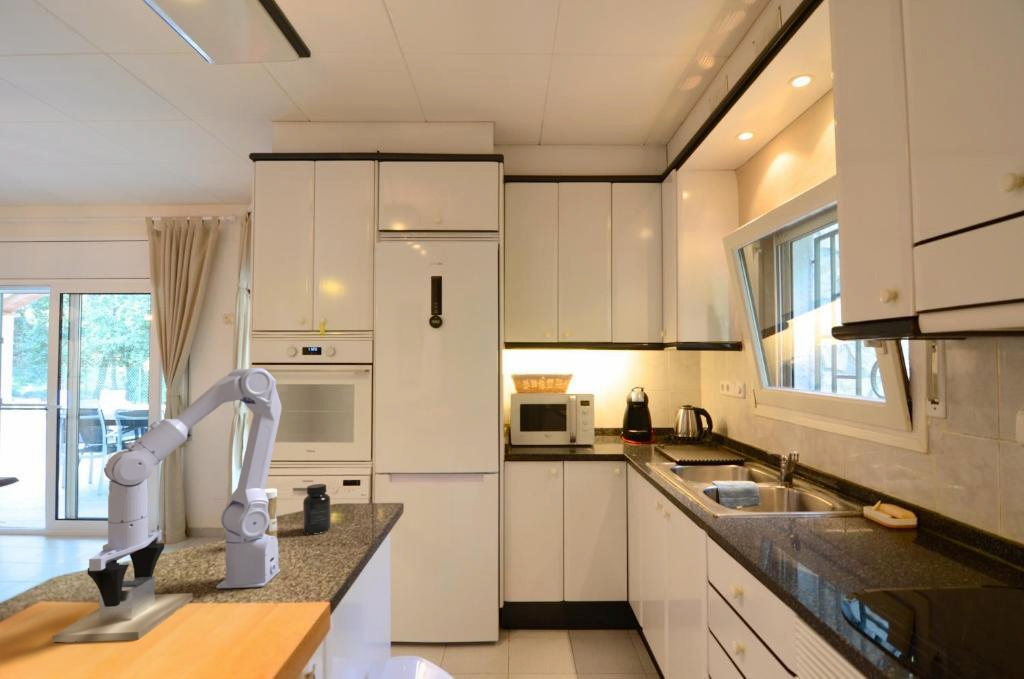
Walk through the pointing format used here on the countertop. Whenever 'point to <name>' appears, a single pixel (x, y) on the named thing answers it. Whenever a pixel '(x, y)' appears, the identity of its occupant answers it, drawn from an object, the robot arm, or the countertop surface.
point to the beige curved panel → (123, 622)
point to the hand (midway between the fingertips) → (128, 595)
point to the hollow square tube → (130, 600)
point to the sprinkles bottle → (272, 512)
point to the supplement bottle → (316, 509)
